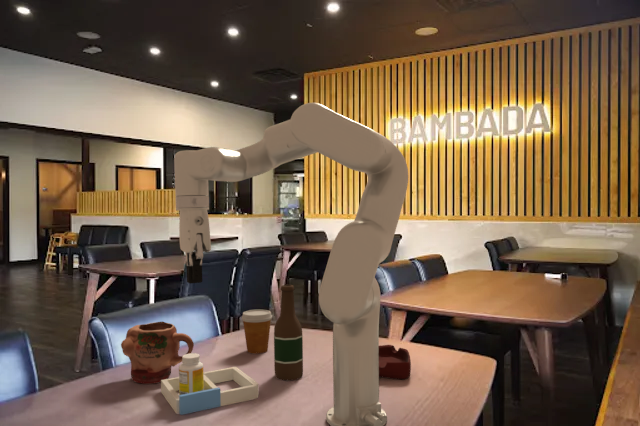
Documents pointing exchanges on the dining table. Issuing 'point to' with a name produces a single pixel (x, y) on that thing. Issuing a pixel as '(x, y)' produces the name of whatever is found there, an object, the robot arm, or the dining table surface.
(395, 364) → the ashtray
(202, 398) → the white divided tray
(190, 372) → the supplement bottle
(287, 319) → the beer bottle
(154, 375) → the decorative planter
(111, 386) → the dining table surface
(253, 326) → the disposable coffee cup
